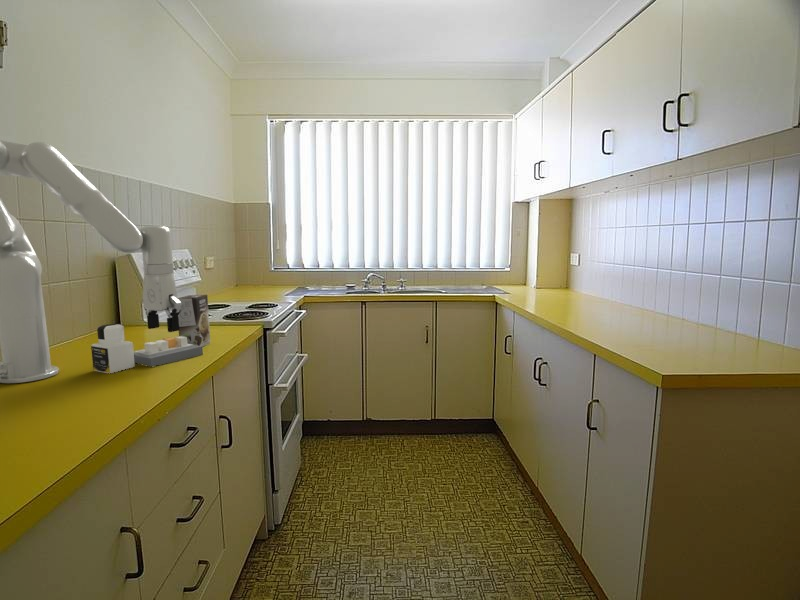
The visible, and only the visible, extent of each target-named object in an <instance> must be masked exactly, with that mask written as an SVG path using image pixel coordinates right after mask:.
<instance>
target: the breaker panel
mask: <svg viewBox="0 0 800 600" xmlns="http://www.w3.org/2000/svg"><path fill="white" fill-rule="evenodd" d="M133 352H134V363H138V364H137V365H139V364H143V365H147V366H150V367H149V368H152V367H151V366H155V367H157V366H156V365H159V366H162V364H163V365H166V363H167V364H170V363H174V362H179V361H183V360H186V359H191V358H194V357H198V356H203V355H204V351H203V347H202V346H197V345H193V344H187V337H183V336H179V335H178V336H174V337H165V338H162V339H160V340H155V341H150V342H149V341H148V342H144V348H141V349H139V350H133ZM143 365H142V366H143ZM147 366H146V367H147Z"/></svg>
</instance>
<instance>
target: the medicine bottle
mask: <svg viewBox="0 0 800 600" xmlns="http://www.w3.org/2000/svg"><path fill="white" fill-rule="evenodd" d="M96 330H97V340H98V342H97V343H92V344H91V345H90V350H91V358H92V368H93V371H94V372H98V373H102V374H103V373H104V374H108V373H109V374H108V375H110V373H111V374H114V372H115V373H118V371H119V372H121V370H123V371H126V370H129V368H130V369H134V368H135V367H136V366H135V365H136V364H135V363H134V352H133V351H134V344H133V342H132V341H129V340H125V339H126V337H125V328H124V325H123V324H121V323H110V324H103V325H100V326H98V327H97V329H96ZM133 367H134V368H133ZM125 369H126V370H125Z"/></svg>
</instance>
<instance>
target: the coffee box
mask: <svg viewBox="0 0 800 600" xmlns="http://www.w3.org/2000/svg"><path fill="white" fill-rule="evenodd" d="M177 299H178V300H179V301H180V302H181V303H182V305H181V309H180V310H181V311H180V313H179V314H180V316H179V317H178V318H179V331H178V336H183V337H187V344H193V345H197V346H202V348H204V347H206V346H207V345H209V344H211V331H210V318H209V302H208V294H192V295H190V294H189V295H184V296H182V297H177Z"/></svg>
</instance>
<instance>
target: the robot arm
mask: <svg viewBox="0 0 800 600" xmlns="http://www.w3.org/2000/svg"><path fill="white" fill-rule="evenodd" d="M0 175H6V176H13V177H18V178H26V179H33V180H37V181H38V182H39V183H40V184H41V185H42V186H44V187H45V188H46V189H47V190H48V191H49V192H50V193H51V194H52V195H53V196H54V197H55V198H56V199H57V200H58V201H59V202H61V203H62V204H63V205H64V206H65V207H66V208H67V209H68V210H69V211H71V212H72V213H73V214H75V215H76V216H77V217H79V218H81V219H82V220H83V221H85V222H86V223H87V224H88V225H89V226H91V227H92V228H93V229H94V230H95V231H96V232H97V233H98V234H99V235H100V236H102V237H103V238H104V239H105V240H106V242H107V243H108V244H109V245H110V246H111V248H112V249H113V250H115V251H116V252H117V253H121V254H126V255H127V254H128V255H129V254H133V253H136V252H141V253H142V263H143V265H142V266H143V280H142V299H141V300H142V301H141V302H142V305H143V309H144V310H145V315H146V320H147V329H148V330H152V329H157V328H160V318H159V313H158V312H165V313H166V316H167V318H166V323H167V332H168V333H175V332H179V318H178V317H179V316H180V314H179V313H180V311H181V310H180V309H181V305H182V303H181V302H180V301H179V300H178V299H177V298H178V292H177V286H176V281H175V277H174V263H173V262H174V261H173V249H172V247H173V246H172V236H171V235H172V233H171V230H170V228H169V227H167V226H165V225H146V226H142V227H139V226H136V225H135V224H133V222H131V220H129V219H128V218H127V217H126V215H124V214H123V213H122V212H121V211H120V210H119V209H118V208H117V207H116V206H114V204H113V203H112V202H111V201H110V200H108V198H106V196H105V195H104V194H103V192H101V191H100V190H99V189H98V188H97V187H96V186H95V185H94V184H93V183H92V182H91V181H90V180H89V179H88V178H86V177H85V175H84V174H82V172H81V171H80V170H78V168H76V166H74V165H73V163H71V162H70V161H69V160H68V159H67V157H65V156H64V155H63V154H62V153H61V152H60V151H59V150H58V149H57V148H56V147H54V146H53V145H51V144H50V143H48V142H44V141H36V142H35V141H33V142H31V143H28V144H23V143H17V142H11V141H7V140H1V139H0ZM42 273H43V266H42V263H41V261H40V259H39V257H38V255H37V252H36V251H35V249H34V248H33V246H32V244H31V242H30V240H29V238H28V235H27V233H26V232H25V230H24V227H22V225H21V223H20V221H19V220H18V219H17V218H16V217H15V216H14V215H12V214H11V213H10V212H9V210H8V208H7V205H5V203H4V201H3V199H2V197H1V196H0V349H1V356H2V357H1V358H2V361H0V383H1V384H18V383H20V384H21V383H27V382H35V381H39V380H44V379H48V378H51V377H54V376H55V375H57V374H58V373H59V370H60V368H59V367H58V366H56V365H51V364H52V362H51V354H50V345H49V336H48V335H49V334H48V329H47V328H48V327H47V318H46V313H45V312H46V311H45V303H44V296H43V295H44V294H43V286H42V277H41V276H42Z"/></svg>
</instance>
